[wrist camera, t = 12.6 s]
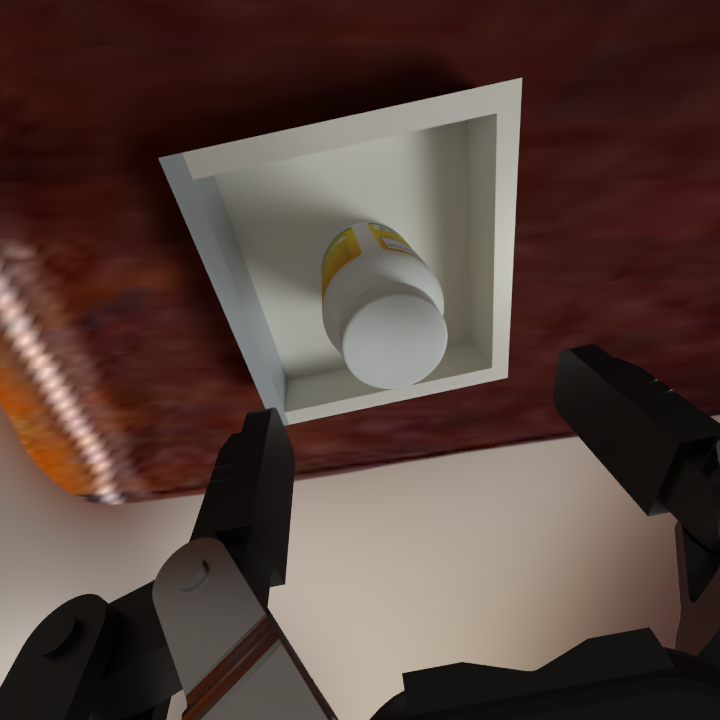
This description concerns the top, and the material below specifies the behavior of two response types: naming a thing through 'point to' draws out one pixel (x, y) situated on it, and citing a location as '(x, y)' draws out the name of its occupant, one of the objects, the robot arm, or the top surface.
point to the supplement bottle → (382, 307)
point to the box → (351, 206)
